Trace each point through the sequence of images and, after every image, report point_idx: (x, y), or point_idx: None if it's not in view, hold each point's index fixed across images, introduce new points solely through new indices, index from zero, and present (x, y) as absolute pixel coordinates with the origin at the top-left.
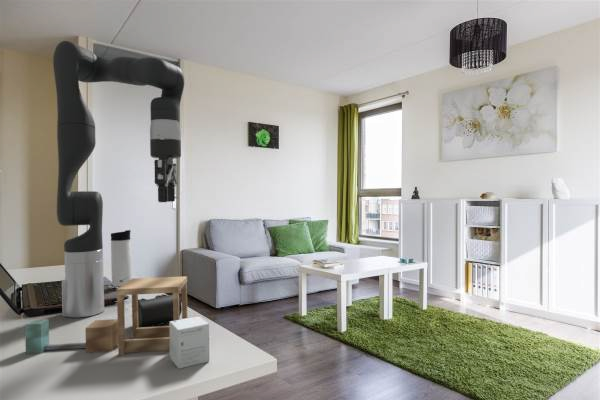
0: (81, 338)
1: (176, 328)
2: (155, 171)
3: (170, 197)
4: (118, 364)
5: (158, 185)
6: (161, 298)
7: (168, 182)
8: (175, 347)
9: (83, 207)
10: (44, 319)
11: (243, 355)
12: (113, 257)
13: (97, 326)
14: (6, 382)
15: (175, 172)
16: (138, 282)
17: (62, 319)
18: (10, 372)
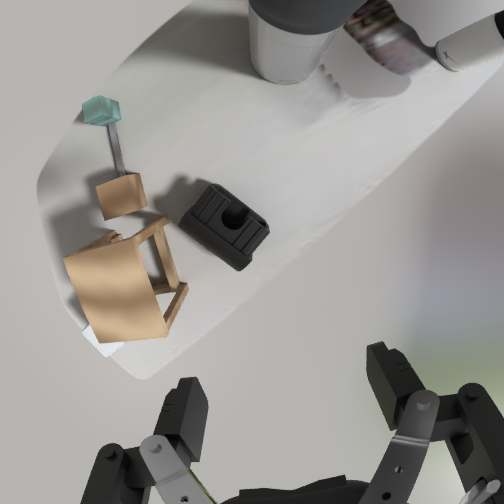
0: (154, 137)
1: (83, 330)
2: (84, 502)
3: (374, 375)
4: None
5: (139, 446)
6: (218, 245)
7: (438, 423)
8: None
9: None
10: (101, 109)
11: (142, 361)
12: (470, 28)
13: (102, 199)
14: (48, 159)
15: (466, 491)
16: (104, 270)
17: (243, 42)
18: (63, 141)
